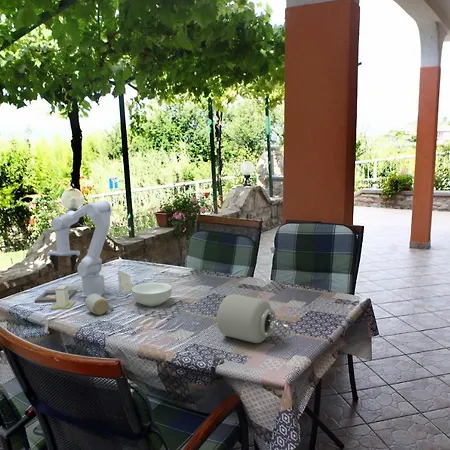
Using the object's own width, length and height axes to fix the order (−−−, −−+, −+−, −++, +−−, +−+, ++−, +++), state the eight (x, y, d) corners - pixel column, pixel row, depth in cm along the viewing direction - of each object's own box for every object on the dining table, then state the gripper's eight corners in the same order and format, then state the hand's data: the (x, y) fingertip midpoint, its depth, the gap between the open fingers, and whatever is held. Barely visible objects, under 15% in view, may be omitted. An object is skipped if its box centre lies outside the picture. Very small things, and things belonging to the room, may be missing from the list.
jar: (249, 309, 174) (305, 315, 157) (236, 346, 168) (293, 357, 151) (219, 286, 163) (276, 290, 146) (204, 324, 157) (261, 333, 140)
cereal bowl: (180, 302, 198) (179, 286, 197) (149, 313, 186) (148, 296, 185) (155, 294, 210) (154, 279, 209) (124, 304, 198) (123, 288, 197)
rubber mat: (75, 302, 201) (75, 301, 201) (69, 308, 193) (69, 308, 193) (56, 302, 201) (56, 302, 201) (50, 309, 193) (50, 308, 193)
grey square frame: (76, 292, 216) (76, 288, 215) (66, 302, 202) (66, 298, 201) (46, 292, 215) (46, 289, 215) (34, 302, 202) (34, 299, 201)
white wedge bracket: (111, 288, 211) (117, 270, 214) (126, 294, 219) (131, 276, 222) (117, 290, 209) (123, 271, 212) (131, 295, 217) (137, 277, 220)
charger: (69, 302, 199) (67, 285, 198) (65, 306, 194) (63, 288, 193) (60, 303, 199) (59, 285, 198) (56, 307, 194) (55, 288, 193)
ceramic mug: (94, 317, 182) (93, 299, 181) (85, 312, 188) (84, 295, 187) (117, 311, 189) (116, 294, 188) (107, 307, 195) (106, 290, 194)
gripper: (44, 244, 212) (46, 273, 214) (75, 243, 212) (77, 272, 214) (49, 241, 219) (52, 269, 221) (80, 240, 219) (82, 268, 221)
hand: (65, 270), depth 218 cm, fingers open, 7 cm apart
